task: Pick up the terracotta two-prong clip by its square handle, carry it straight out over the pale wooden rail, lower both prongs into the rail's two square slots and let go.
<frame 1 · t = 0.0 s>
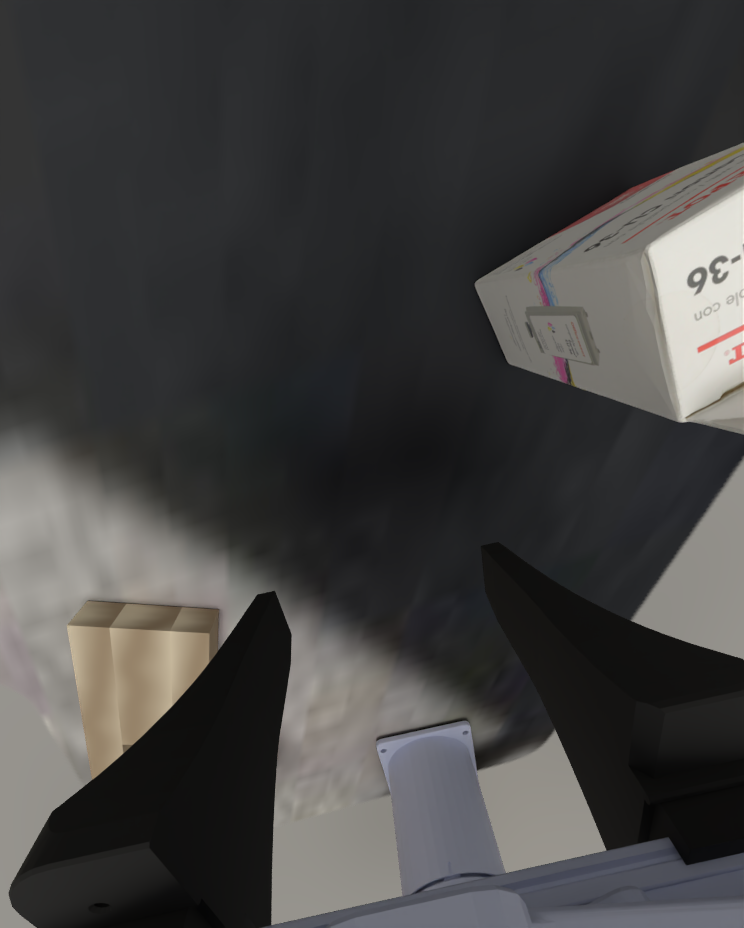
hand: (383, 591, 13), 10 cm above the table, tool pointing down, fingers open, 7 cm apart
rail: (160, 718, 29), on the table
ink cartridge box: (560, 281, 19), on the table
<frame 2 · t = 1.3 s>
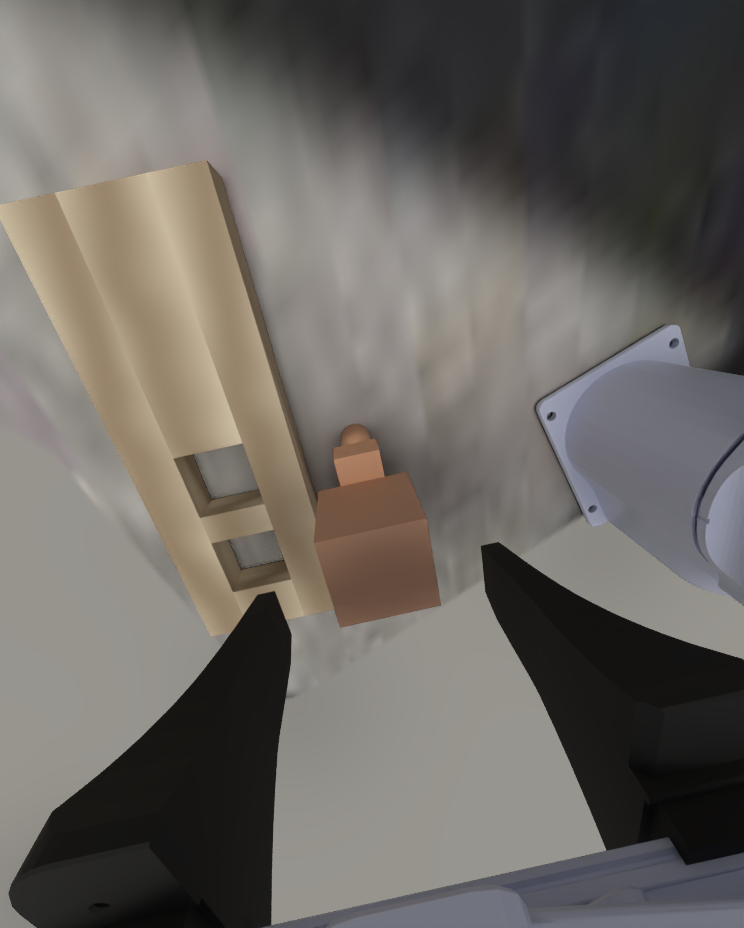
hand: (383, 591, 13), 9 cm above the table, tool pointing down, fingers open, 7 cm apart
rail: (221, 441, 20), on the table
clip: (364, 478, 22), on the table
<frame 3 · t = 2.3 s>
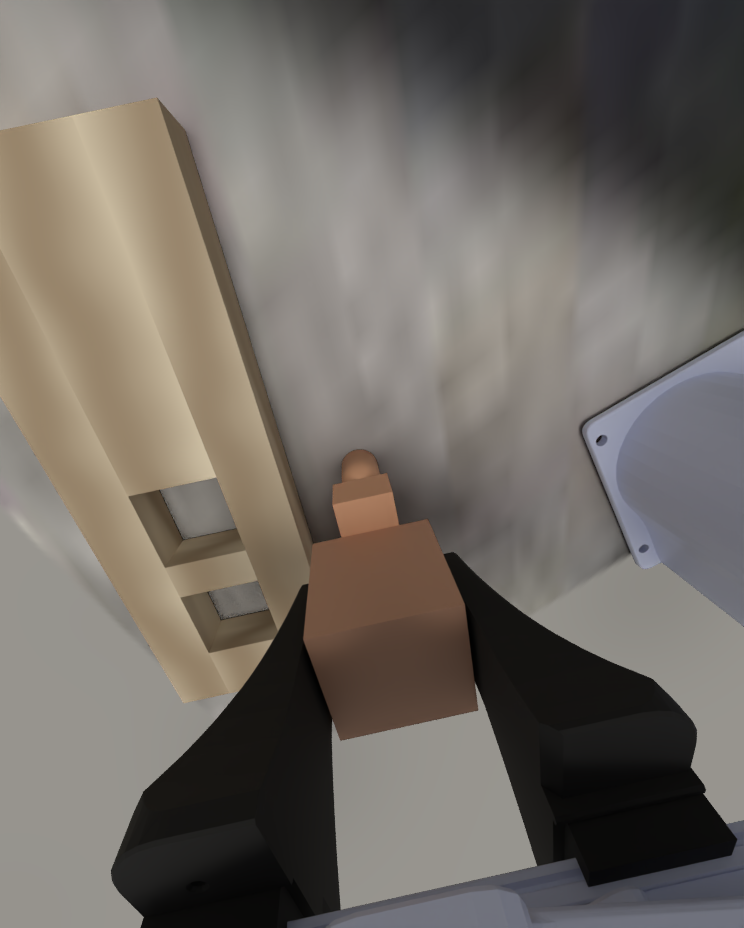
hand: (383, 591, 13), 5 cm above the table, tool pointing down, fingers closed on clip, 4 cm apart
rail: (192, 470, 16), on the table
clip: (370, 514, 18), on the table, touching gripper
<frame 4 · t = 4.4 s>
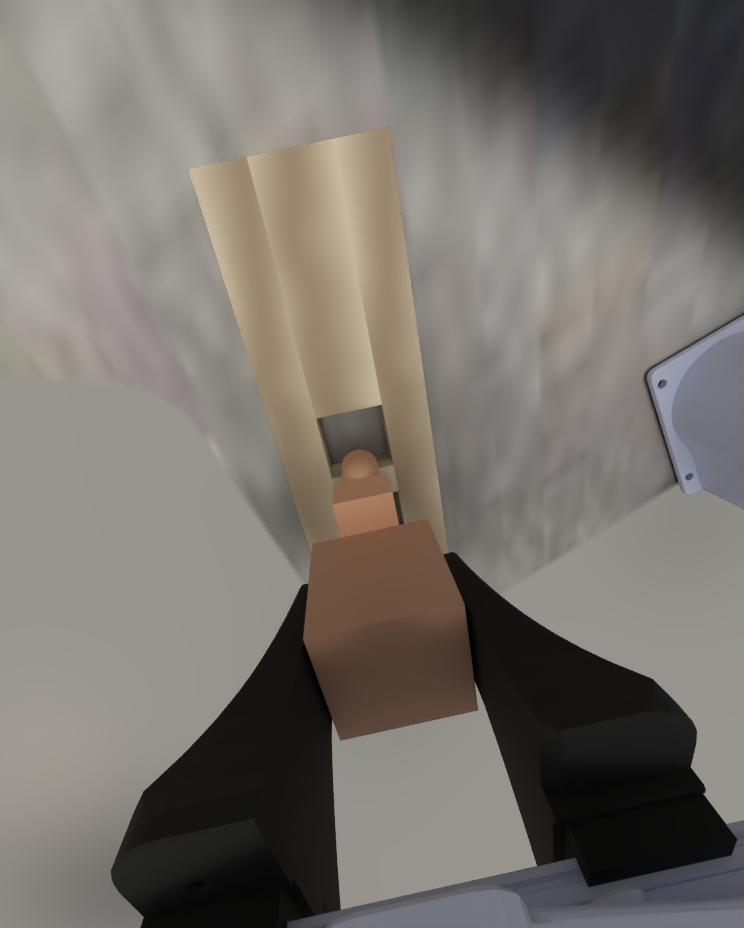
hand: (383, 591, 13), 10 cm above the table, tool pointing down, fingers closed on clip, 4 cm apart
rail: (348, 405, 21), on the table
clip: (370, 514, 18), point 5 cm above the table, touching gripper
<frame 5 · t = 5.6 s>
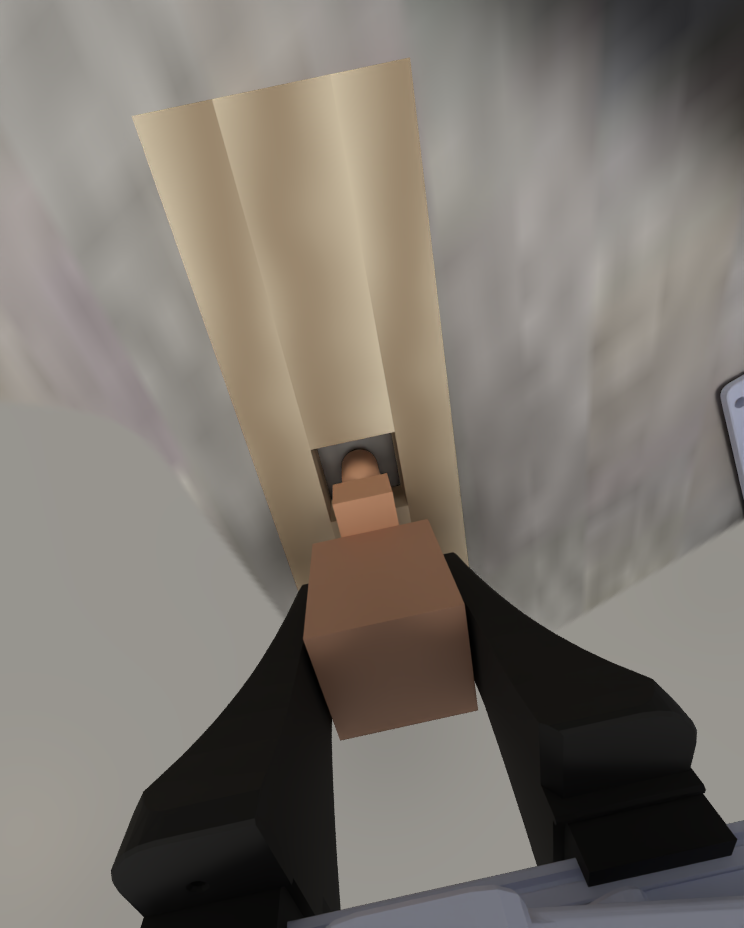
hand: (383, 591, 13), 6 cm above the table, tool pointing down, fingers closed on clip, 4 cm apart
rail: (351, 430, 17), on the table
clip: (370, 514, 18), point 1 cm above the table, touching gripper
when the fingers open (6 cm above the table, at t = 6.6 s): clip stays where it is, on the table.
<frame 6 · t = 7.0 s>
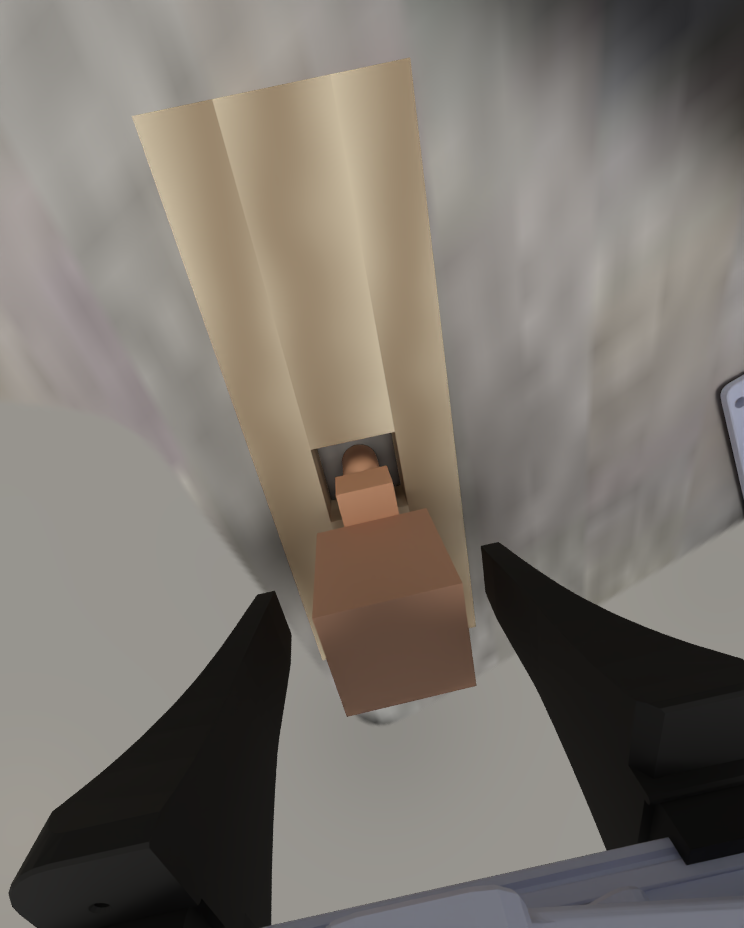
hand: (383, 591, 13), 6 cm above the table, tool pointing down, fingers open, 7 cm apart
rail: (351, 430, 17), on the table
clip: (370, 507, 18), on the table
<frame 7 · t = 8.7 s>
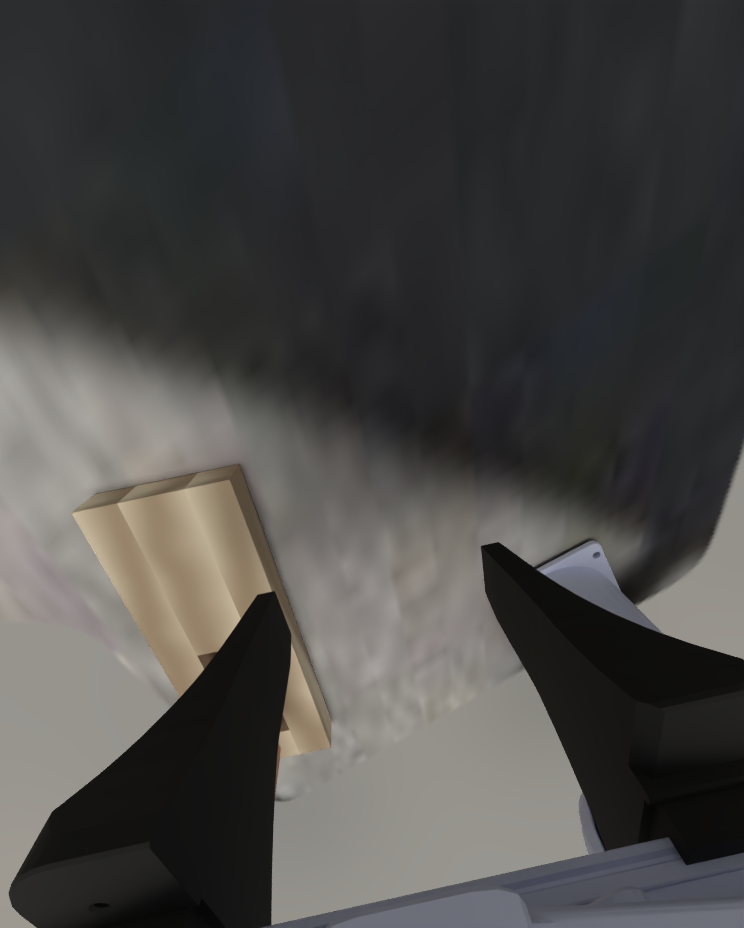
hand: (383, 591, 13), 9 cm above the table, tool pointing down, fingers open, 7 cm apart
rail: (233, 626, 25), on the table
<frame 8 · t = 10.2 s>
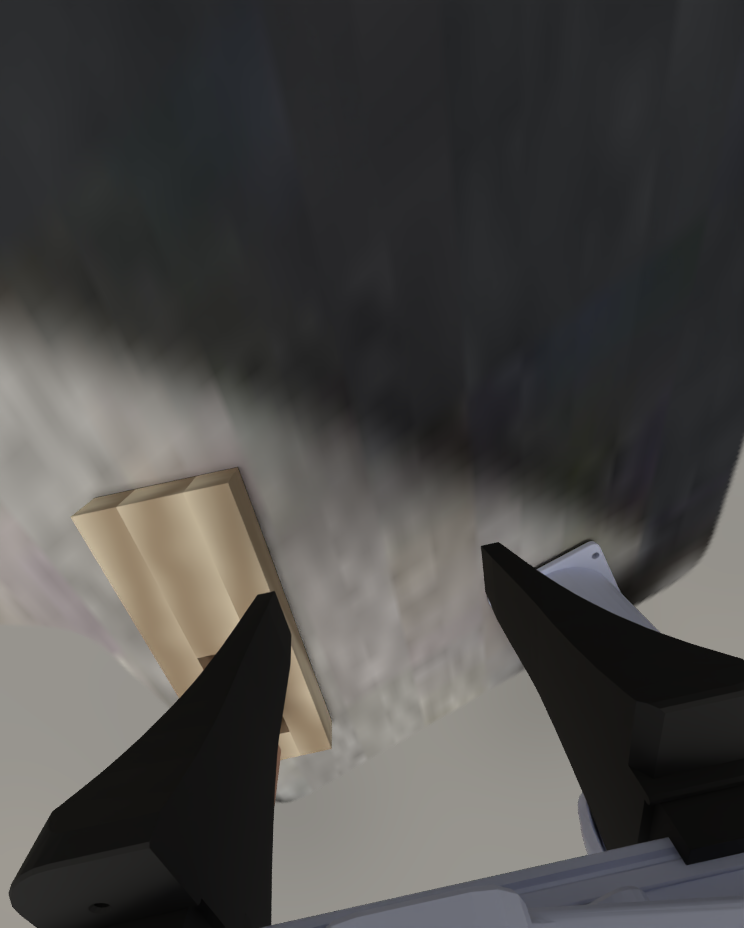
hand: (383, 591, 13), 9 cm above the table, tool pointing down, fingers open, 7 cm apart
rail: (233, 629, 25), on the table
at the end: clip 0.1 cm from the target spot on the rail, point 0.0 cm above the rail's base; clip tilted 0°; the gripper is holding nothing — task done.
